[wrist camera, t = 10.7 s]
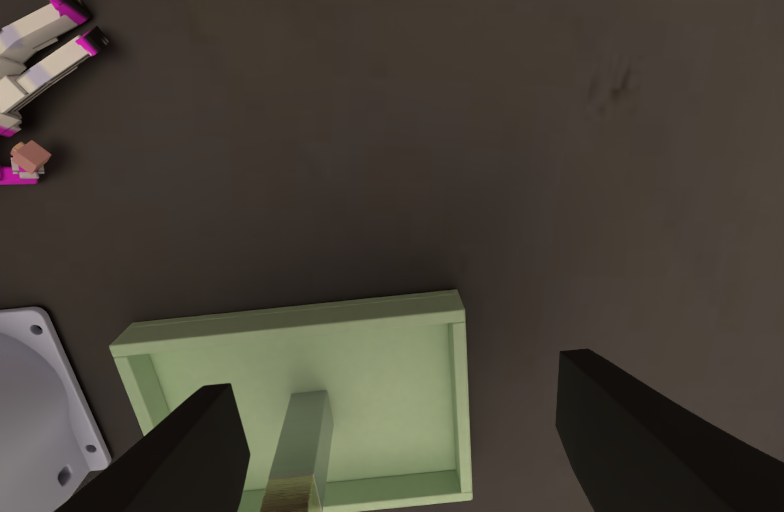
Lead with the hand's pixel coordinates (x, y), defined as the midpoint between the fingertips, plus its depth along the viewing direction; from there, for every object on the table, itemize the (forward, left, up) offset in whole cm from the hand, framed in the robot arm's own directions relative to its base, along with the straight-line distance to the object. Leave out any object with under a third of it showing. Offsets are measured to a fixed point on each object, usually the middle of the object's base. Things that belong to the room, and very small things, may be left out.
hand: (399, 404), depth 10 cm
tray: (-8, +5, -10) cm, 14 cm away
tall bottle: (-8, +5, -10) cm, 14 cm away
